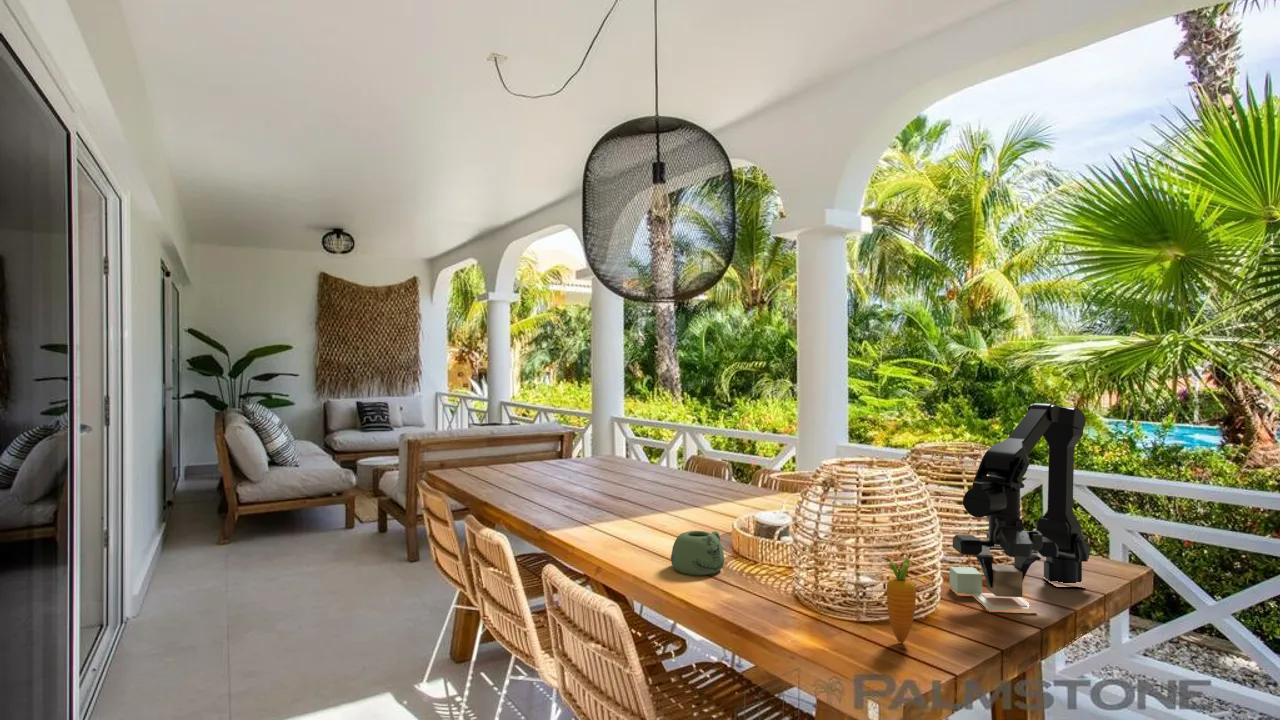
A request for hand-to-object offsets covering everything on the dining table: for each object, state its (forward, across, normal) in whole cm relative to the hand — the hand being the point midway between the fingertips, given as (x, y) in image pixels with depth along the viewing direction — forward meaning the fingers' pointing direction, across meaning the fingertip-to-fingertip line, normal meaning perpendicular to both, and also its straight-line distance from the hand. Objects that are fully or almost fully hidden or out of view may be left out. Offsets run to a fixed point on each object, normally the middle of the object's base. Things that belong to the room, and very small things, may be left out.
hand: (1004, 587), depth 146 cm
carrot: (+4, -26, -22) cm, 34 cm away
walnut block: (+1, 0, 0) cm, 1 cm away
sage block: (+4, -5, +8) cm, 10 cm away
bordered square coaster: (+4, 0, 0) cm, 4 cm away
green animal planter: (+4, -62, +20) cm, 65 cm away
